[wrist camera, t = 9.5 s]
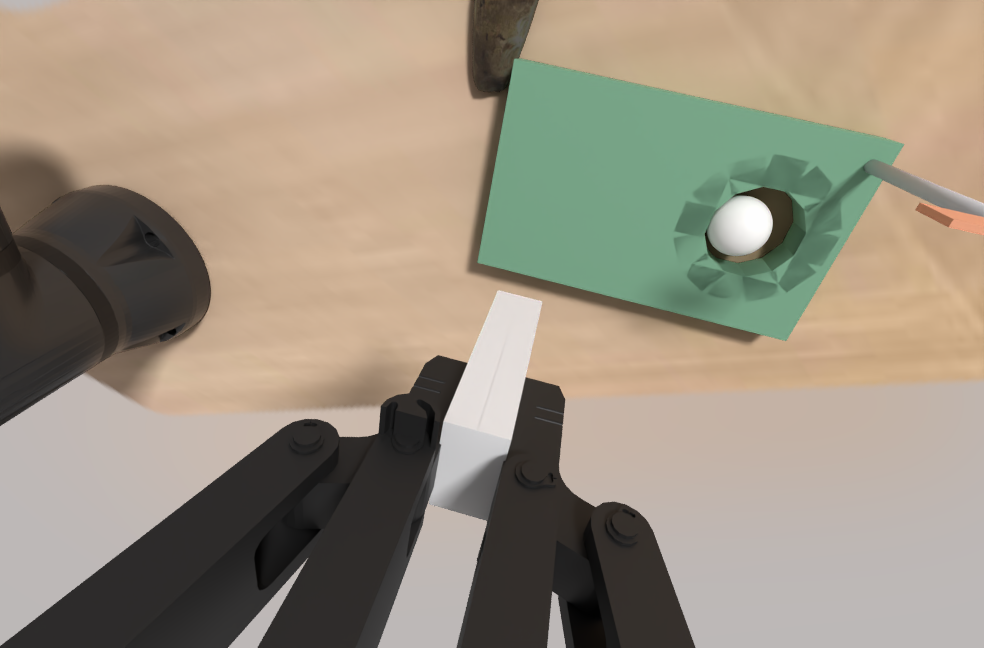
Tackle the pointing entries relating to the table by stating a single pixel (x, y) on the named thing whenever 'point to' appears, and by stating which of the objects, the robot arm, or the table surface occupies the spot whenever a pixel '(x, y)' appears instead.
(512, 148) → the green
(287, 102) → the table surface
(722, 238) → the ball
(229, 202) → the table surface
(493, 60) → the stone
